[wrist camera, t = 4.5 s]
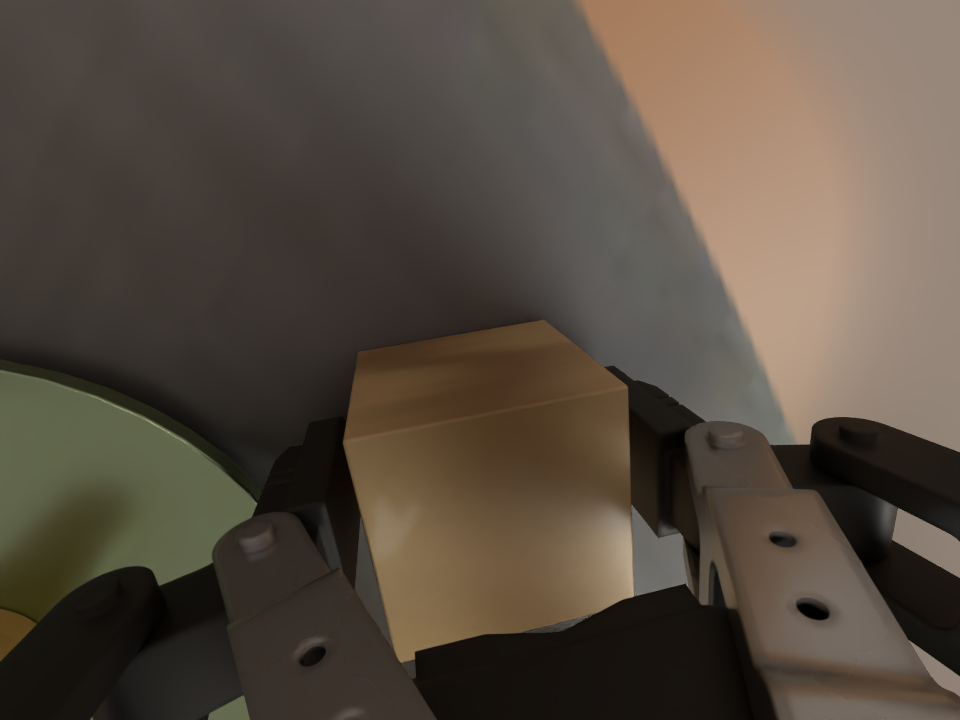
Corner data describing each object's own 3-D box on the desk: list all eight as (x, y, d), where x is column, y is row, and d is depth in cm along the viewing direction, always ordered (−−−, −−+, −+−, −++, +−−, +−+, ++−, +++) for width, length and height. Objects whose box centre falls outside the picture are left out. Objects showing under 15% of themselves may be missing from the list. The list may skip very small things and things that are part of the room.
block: (393, 513, 13) (396, 665, 9) (357, 350, 12) (341, 441, 7) (558, 477, 14) (635, 604, 9) (544, 319, 12) (629, 385, 8)
